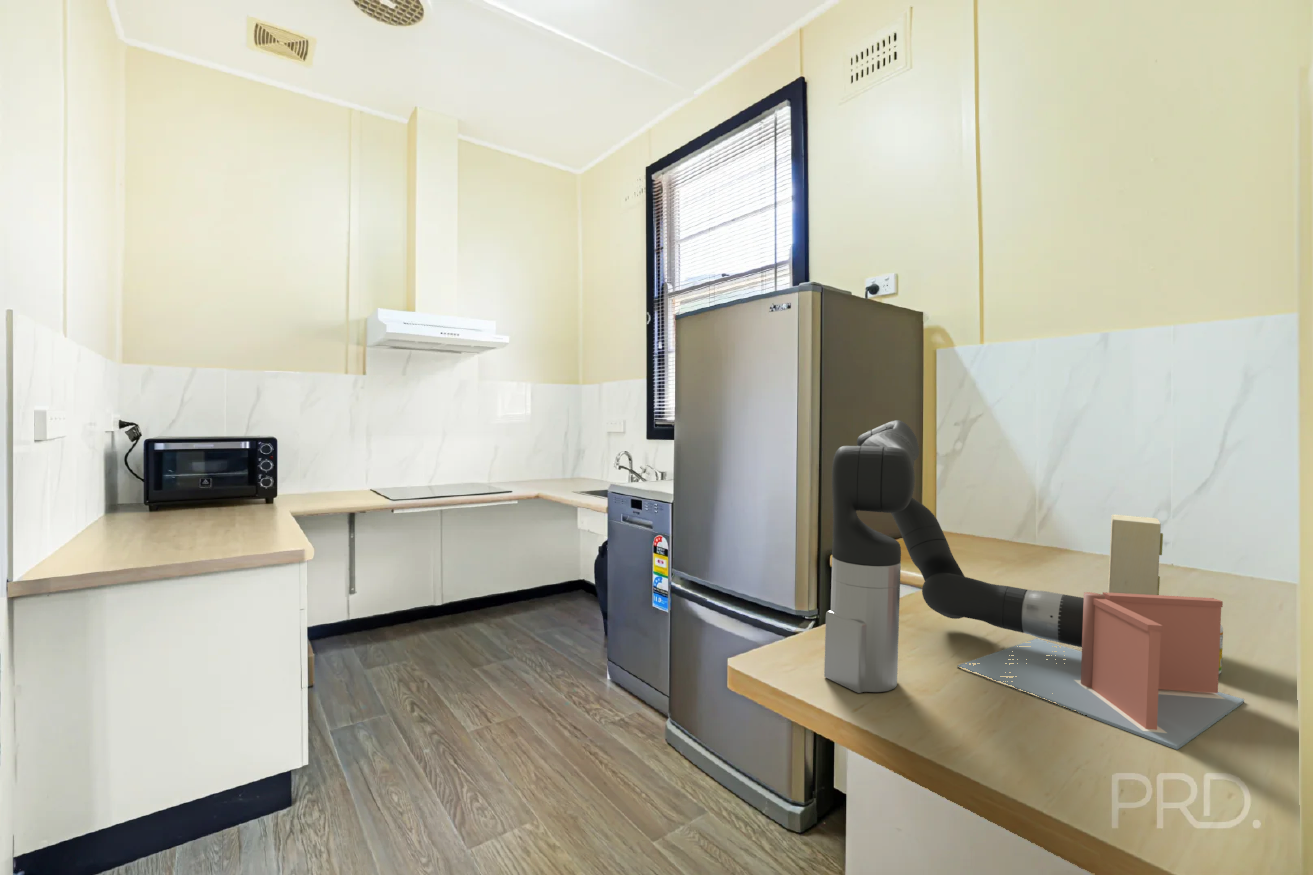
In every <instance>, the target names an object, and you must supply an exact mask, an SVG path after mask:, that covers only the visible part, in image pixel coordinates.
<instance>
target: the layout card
mask: <svg viewBox="0 0 1313 875" xmlns="http://www.w3.org/2000/svg"><path fill="white" fill-rule="evenodd" d="M1027 642H1031V643H1025V642H1022V643H1019V644H1016V645H1013V646H1010V647H1007V648H1004V649H1002V650H999V651H995V652H993V653H990V654H986V655H984V656H981V657H979V658H975V659H976V660H975V659H972V660H968V661H967V662H963V663H961V664H958V665H957V667H958V666H959V667H962V668H966V669H968V670H970V671H972V672H977V673H979V674H981V675H984V676H987V677H989V678H992V679H993V680H996V681H1001V682H1003V681H1004V682H1003V683H1006V684H1008V685H1012V686H1014V687H1015V688H1017V689H1021V690H1023V691H1026V692H1029V693H1033V694H1035V695H1037V696H1039V697H1041V698H1045V699H1047V700H1050V701H1052V702H1056V703H1057V704H1059V705H1061V706H1065V707H1067V708H1069V709H1071V710H1070V711H1072V710H1076V711H1077V712H1079V713H1078V714H1080V713H1081V714H1080V715H1082V714H1083V715H1082V716H1085V715H1087V716H1086V717H1089V718H1091V719H1094V720H1096V721H1099V722H1101V723H1104V724H1106V725H1110V726H1112V727H1115V728H1118V729H1120V730H1123V731H1126V732H1128V733H1131V734H1133V735H1136V736H1139V737H1141V738H1145V739H1147V740H1150V741H1152V742H1155V743H1156V744H1157V743H1158V744H1160V745H1164V746H1165V747H1169V748H1171V749H1174V750H1176V751H1177V750H1180V749H1181V748H1182V747H1184V746H1185V745H1186V744H1188V743H1189V742H1190V741H1192V740H1193V739H1195V738H1196V737H1198V736H1199V735H1201V734H1202V733H1203V732H1205V731H1206V730H1207V729H1208V728H1210V727H1212V726H1213V725H1214V724H1215V723H1217V722H1219V721H1220V720H1221V719H1223V718H1224V717H1226V716H1228V714H1230V713H1231V712H1233V711H1234V710H1235V709H1237V708H1239V707H1240V706H1241V705H1243V704H1244V703H1245V699H1244V698H1240V697H1237V696H1234V695H1230V694H1227V693H1224V692H1220V691H1218V693H1209V692H1195V691H1180V690H1166V689H1158V715H1157V730H1154V729H1145V728H1144V727H1143V726H1141V725H1140V724H1139V723H1137V722H1136V721H1135V720H1133V719H1132V718H1131V717H1129V716H1128V715H1127V714H1125V713H1124V712H1123V711H1121V710H1120V709H1119V708H1117V707H1116V706H1114V705H1113V704H1112V703H1110V702H1109V701H1108V700H1106V699H1105V698H1104V697H1102V696H1101V695H1100V694H1098V693H1097V692H1096V691H1094V690H1093V689H1092V688H1089V687H1086V686H1084V685H1082V684H1081V660H1082V650H1078V649H1074V648H1071V647H1068V646H1065V647H1064V645H1061V644H1057V643H1055V642H1052V641H1049V640H1047V641H1046V640H1045V639H1042V638H1038V637H1035V638H1034V639H1031V640H1028V641H1027ZM1047 642H1048V643H1047ZM1017 646H1018V647H1017ZM1019 646H1031V647H1019ZM1052 646H1053V647H1052ZM1054 646H1057V648H1056V647H1054ZM1059 646H1061V648H1060V647H1059ZM1012 651H1013V652H1012ZM1052 651H1053V652H1052ZM1054 651H1057V652H1054ZM1063 651H1065V652H1063ZM1009 655H1010V656H1009ZM1011 655H1014V656H1011ZM1046 655H1050V656H1046ZM1051 655H1052V656H1051ZM1055 655H1056V656H1055ZM1064 655H1065V656H1064ZM1008 659H1011V660H1008ZM1012 659H1014V660H1012ZM1017 659H1018V660H1017ZM1026 659H1027V660H1026ZM1046 659H1048V660H1046ZM1055 659H1056V660H1055ZM1063 659H1066V660H1063ZM965 663H967V664H965ZM969 663H971V665H969ZM972 663H976V665H974V666H973V664H972ZM977 663H980V664H977ZM1005 663H1007V664H1005ZM1009 663H1014V664H1010V665H1009ZM1017 663H1018V664H1017ZM1026 663H1027V664H1026ZM1056 663H1057V664H1056ZM1064 663H1065V664H1064ZM1005 672H1006V673H1005ZM1009 672H1011V673H1009ZM1000 676H1014V677H1013V678H1009V677H1008V678H1006V677H1000ZM1015 676H1017V677H1015ZM1005 681H1006V682H1005ZM1007 681H1008V682H1007ZM1011 681H1013V682H1011ZM1052 693H1053V694H1052ZM1243 702H1244V703H1243ZM1061 706H1060V707H1061ZM1069 709H1068V710H1069ZM1232 710H1233V711H1232ZM1077 712H1076V713H1077ZM1225 715H1226V716H1225Z"/></svg>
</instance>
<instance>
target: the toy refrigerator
mask: <svg viewBox="0 0 1313 875" xmlns="http://www.w3.org/2000/svg"><path fill="white" fill-rule="evenodd" d="M1110 524H1111V525H1110V543H1109V544H1110V545H1109V564H1108V583H1107V584H1108V588H1107V593H1126V594H1145V595H1160V585H1161V582H1160V581H1161V576H1160V574H1159V571H1160V570H1159V568H1160V556H1162V555H1163V542H1164V533H1163V532H1161V531H1162V530H1161V528H1162V524H1161V522H1160V519H1158V518H1157V517H1147V516H1139V515H1138V516H1137V515H1136V516H1135V515H1125V514H1111V523H1110Z"/></svg>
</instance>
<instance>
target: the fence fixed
mask: <svg viewBox="0 0 1313 875" xmlns="http://www.w3.org/2000/svg"><path fill="white" fill-rule="evenodd" d="M1083 598H1084V603H1083V631H1082V647H1081V651H1082V660H1081V684H1082V685H1084V686H1086V687H1089V688H1092V689H1093V690H1094V691H1096V692H1097V693H1098V694H1100V695H1101V696H1102V697H1104V698H1105V699H1106V700H1108V701H1109V702H1110V703H1112V704H1113V705H1114V706H1116V707H1117V708H1119V709H1120V710H1121V711H1123V712H1124V713H1125V714H1127V715H1128V716H1129V717H1131V718H1132V719H1133V720H1135V721H1136V722H1137V723H1139V724H1140V725H1141V726H1143V727H1144V728H1145V729H1154V730H1157V715H1158V689H1159V663H1160V636H1161V632H1163V626H1162V625H1160V624H1158V623H1156V622H1154V621H1152V620H1150V619H1148V618H1145V617H1143V616H1141V615H1139V614H1137V613H1135V612H1133V611H1131V610H1128V609H1126V608H1124V607H1122V606H1120V605H1118V604H1116V603H1113V602H1111V601H1109V600H1107V599H1105V596H1104V595H1103V593H1102V594H1101V593H1099V592H1098V593H1097V592H1092V591H1091V592H1090V591H1089V592H1087V591H1085V592H1083Z"/></svg>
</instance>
